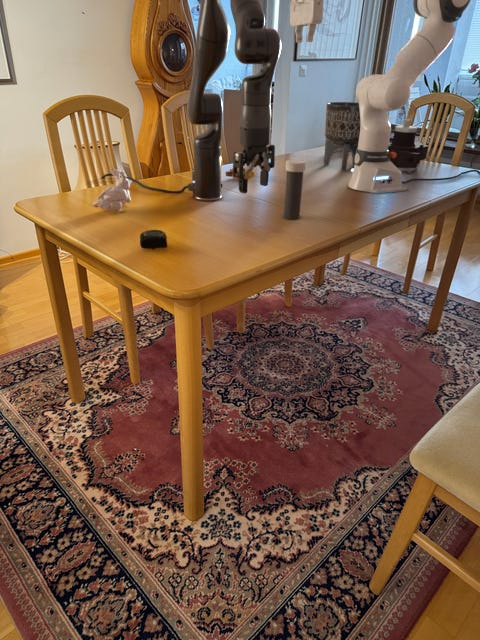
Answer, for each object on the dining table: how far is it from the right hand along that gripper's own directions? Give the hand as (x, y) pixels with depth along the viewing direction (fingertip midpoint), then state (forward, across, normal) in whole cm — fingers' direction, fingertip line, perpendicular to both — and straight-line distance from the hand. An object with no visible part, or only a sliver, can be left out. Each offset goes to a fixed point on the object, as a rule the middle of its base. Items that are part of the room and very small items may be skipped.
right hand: (304, 42), depth 147 cm
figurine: (+48, -14, +65) cm, 82 cm away
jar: (+48, -31, +11) cm, 58 cm away
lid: (+31, -31, +11) cm, 45 cm away
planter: (+48, +37, -37) cm, 71 cm away
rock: (+48, +74, -56) cm, 104 cm away
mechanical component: (+48, +30, -65) cm, 86 cm away
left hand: (+35, -45, +28) cm, 63 cm away
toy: (+48, +22, +14) cm, 55 cm away
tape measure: (+48, -50, +55) cm, 89 cm away
